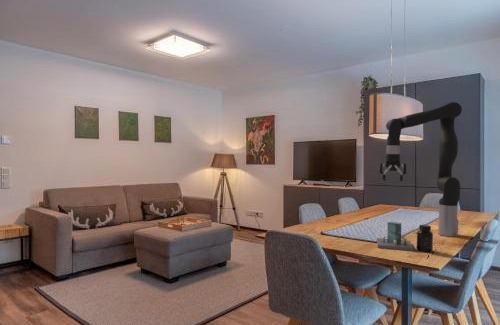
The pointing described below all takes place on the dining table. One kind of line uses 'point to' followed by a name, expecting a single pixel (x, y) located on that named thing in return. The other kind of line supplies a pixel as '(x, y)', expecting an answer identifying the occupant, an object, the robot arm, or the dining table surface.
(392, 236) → the teal block
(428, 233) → the supplement bottle
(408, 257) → the dining table surface
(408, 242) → the base plate
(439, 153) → the robot arm
